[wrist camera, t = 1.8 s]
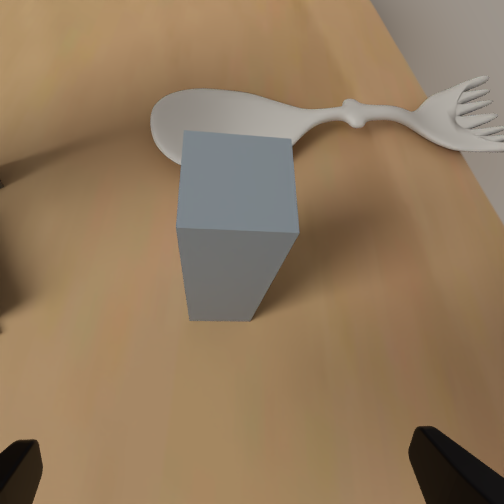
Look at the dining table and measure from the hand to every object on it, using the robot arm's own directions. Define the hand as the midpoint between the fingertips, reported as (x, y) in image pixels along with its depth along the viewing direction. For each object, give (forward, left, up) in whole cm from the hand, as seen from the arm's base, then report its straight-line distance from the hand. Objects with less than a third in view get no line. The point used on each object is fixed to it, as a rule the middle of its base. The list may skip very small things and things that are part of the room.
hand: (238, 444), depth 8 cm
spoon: (+22, -12, -14) cm, 29 cm away
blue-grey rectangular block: (+8, -1, -13) cm, 16 cm away
